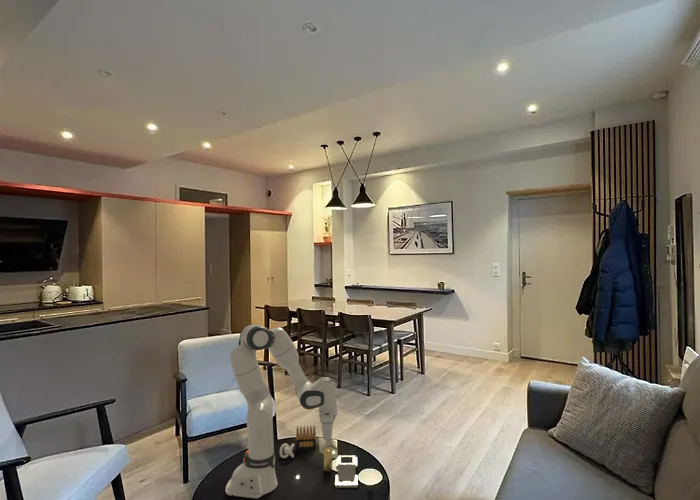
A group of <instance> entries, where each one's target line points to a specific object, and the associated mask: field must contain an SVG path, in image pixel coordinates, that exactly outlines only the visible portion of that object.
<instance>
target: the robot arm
mask: <svg viewBox="0 0 700 500" xmlns="http://www.w3.org/2000/svg"><path fill="white" fill-rule="evenodd" d="M265 349H268V351H269V352H270V355H271V356H272V357H273V360H274V361H275V363H276V364H277V365H278V367H280V369H283V370H286V371H287V373H288V374H289V376H290V377H291V379H292V382H293V383H294V385H295V396H297V398H298V399H297V400H298V401H299V403H300V405H301V407H302V408H303V409H306V410H313V409H317V408H318V417H319V423H320V424H321V431H322V432H321V433H322V438H323V440H324V441H325V445H326V446H327V447H330V446H331V440H332V435H333V426H334V422H335V419H336V417H337V415H338V404H337V400H336V399H337V387H336V382H335V380H334V379H332V377H328V376H322V377H319V378H318V379H317V380H316V381H315V382H313V381H311V379H309V378H308V377H306V375H305V373H304V371H303V369H302V367H301V365H300V362H299V361H300V355H299V352H298V351H297V348H296V345H295V344H294V342H293V340H292V339H291V337H290V336H289V334H288V333H287V332H286V331H285V330H284V328H282V327H275V328H272V329H269V328H268V327H265V326H263V325H261V324H256V323H250V324H247V325H245V326H244V327H243V328H242V329H241V331H240V335H239V339H238V346H236V347H235V348H234V349H232V351H231V352H230V354H229V355H230V364H231V368H232V371H233V375H234V378H235V382H236V384H237V386H238V389H239V392H240V393H241V394H242V395H243V396H242V397H243V398H244V399H245V401H246V403H247V409H248V410H247V413H246V427H247V428H246V429H247V437H248V440H247V441H248V442H247V443H248V445H247V446H248V447H247V448H248V449H247V450H246V451H245V454H244V457H243V461H242V462H243V463H241V464H240V465H238V466H237V467H236V468H235V470H234V471H233V473H232V475H231V478H230V479H229V480H228V482H227V484H226V486H225V491H224V492H226V493H225V495H226V494H228V495H227V496H232V495H233V497H241V498H250V499H259V498H261V497H263V496H264V495H266V494H269V493H271V492H272V491H274V490H276V488H277V486H278V484H279V483H278V478H277V475H276V469H275V464H276V454H275V450H274V449H275V445H274V444H275V443H274V440H275V439H274V437H275V436H274V422H273V420H274V419H273V417H274V408H275V407H274V406H275V403H274V398H273V397H272V395H271V394H272V393H271V392H270V390H269V388H268V385H267V384H266V382H265V379H264V377H263V374H262V371H261V368H260V365H259V362H258V359H257V356H256V355H257V351H263V350H265Z"/></svg>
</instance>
